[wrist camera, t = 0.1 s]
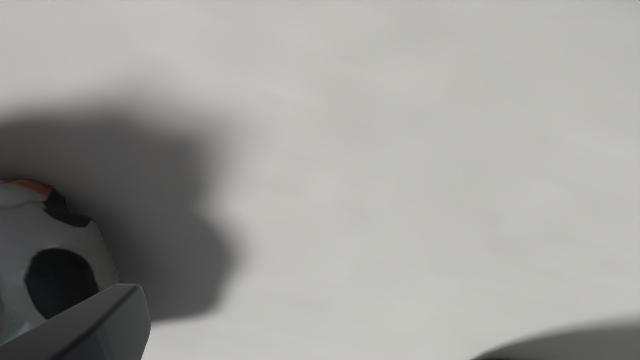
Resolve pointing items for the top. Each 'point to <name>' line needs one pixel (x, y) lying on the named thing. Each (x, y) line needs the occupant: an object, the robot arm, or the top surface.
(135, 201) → the top surface
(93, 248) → the lucky cat figurine
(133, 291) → the robot arm
